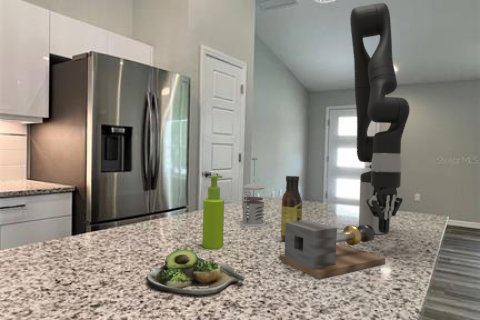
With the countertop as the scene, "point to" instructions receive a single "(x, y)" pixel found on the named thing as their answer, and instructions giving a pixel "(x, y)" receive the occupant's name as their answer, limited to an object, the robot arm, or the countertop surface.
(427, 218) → the countertop surface
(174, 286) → the salad plate
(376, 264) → the bearing block
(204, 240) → the soap dispenser
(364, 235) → the shaft
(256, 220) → the french press
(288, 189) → the sauce bottle
